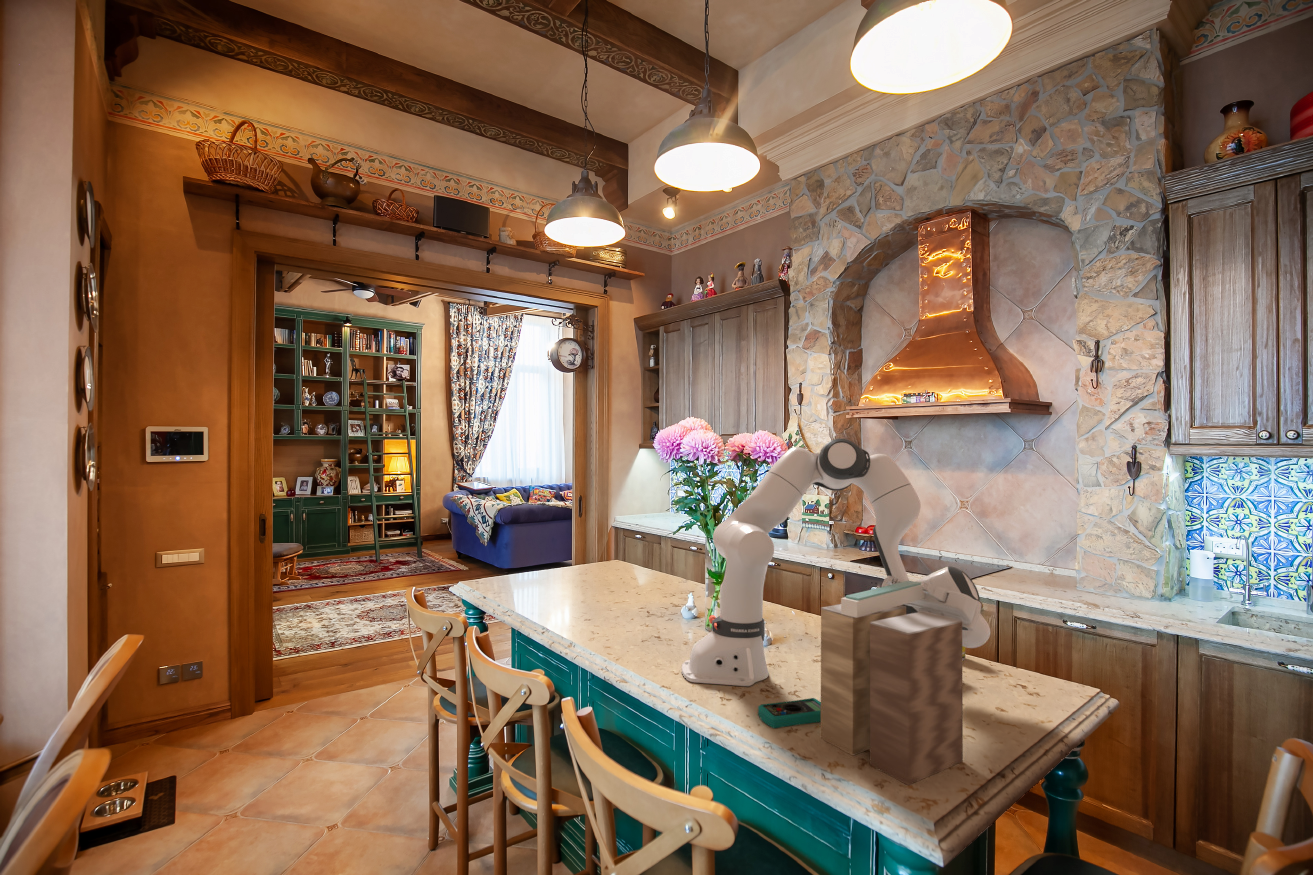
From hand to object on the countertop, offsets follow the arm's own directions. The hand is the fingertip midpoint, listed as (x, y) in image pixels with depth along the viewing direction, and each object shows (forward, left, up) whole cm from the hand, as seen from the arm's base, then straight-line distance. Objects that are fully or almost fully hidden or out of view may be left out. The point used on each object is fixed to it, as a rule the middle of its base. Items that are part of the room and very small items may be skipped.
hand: (907, 582), depth 130 cm
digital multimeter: (-24, +2, -30) cm, 38 cm away
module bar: (-7, -6, -3) cm, 10 cm away
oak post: (-12, -7, -29) cm, 33 cm away
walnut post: (-6, -17, -30) cm, 35 cm away
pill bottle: (+31, +41, -30) cm, 59 cm away
